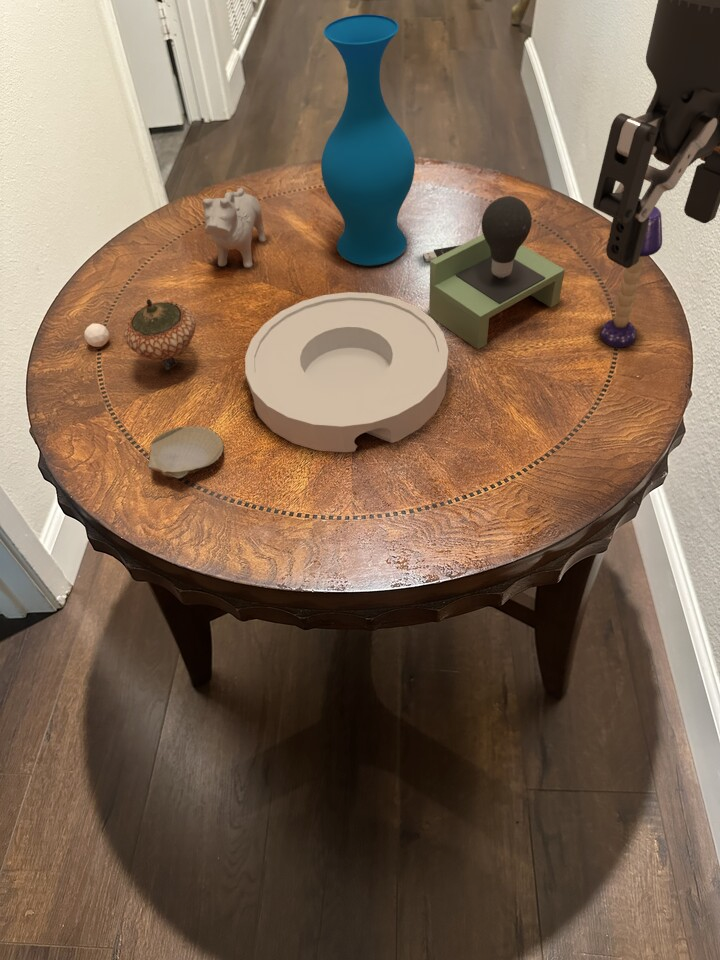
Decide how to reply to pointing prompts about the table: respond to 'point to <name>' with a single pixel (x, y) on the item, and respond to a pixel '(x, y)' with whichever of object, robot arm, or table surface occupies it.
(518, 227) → the light bulb
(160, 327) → the acorn
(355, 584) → the table surface
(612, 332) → the toy lamp
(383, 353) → the beige round base
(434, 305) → the bench
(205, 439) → the seashell
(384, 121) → the vase
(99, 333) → the polyhedron
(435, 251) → the usb flash drive
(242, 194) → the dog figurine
